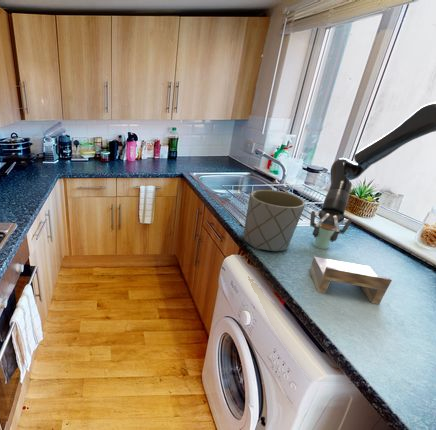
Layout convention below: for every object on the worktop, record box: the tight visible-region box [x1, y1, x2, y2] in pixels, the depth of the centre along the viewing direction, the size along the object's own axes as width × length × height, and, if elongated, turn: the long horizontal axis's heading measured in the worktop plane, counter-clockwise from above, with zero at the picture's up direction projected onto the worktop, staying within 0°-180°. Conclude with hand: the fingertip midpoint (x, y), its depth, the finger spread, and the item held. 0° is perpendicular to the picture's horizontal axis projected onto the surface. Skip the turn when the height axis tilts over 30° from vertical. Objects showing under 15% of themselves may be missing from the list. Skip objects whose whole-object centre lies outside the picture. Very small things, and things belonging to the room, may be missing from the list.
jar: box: [312, 223, 336, 250], centre depth 115 cm, size 6×6×9 cm
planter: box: [242, 189, 306, 252], centre depth 115 cm, size 19×19×20 cm
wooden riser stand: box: [308, 256, 393, 305], centre depth 92 cm, size 16×12×9 cm
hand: (323, 238), depth 114 cm, fingers closed on jar, 5 cm apart
